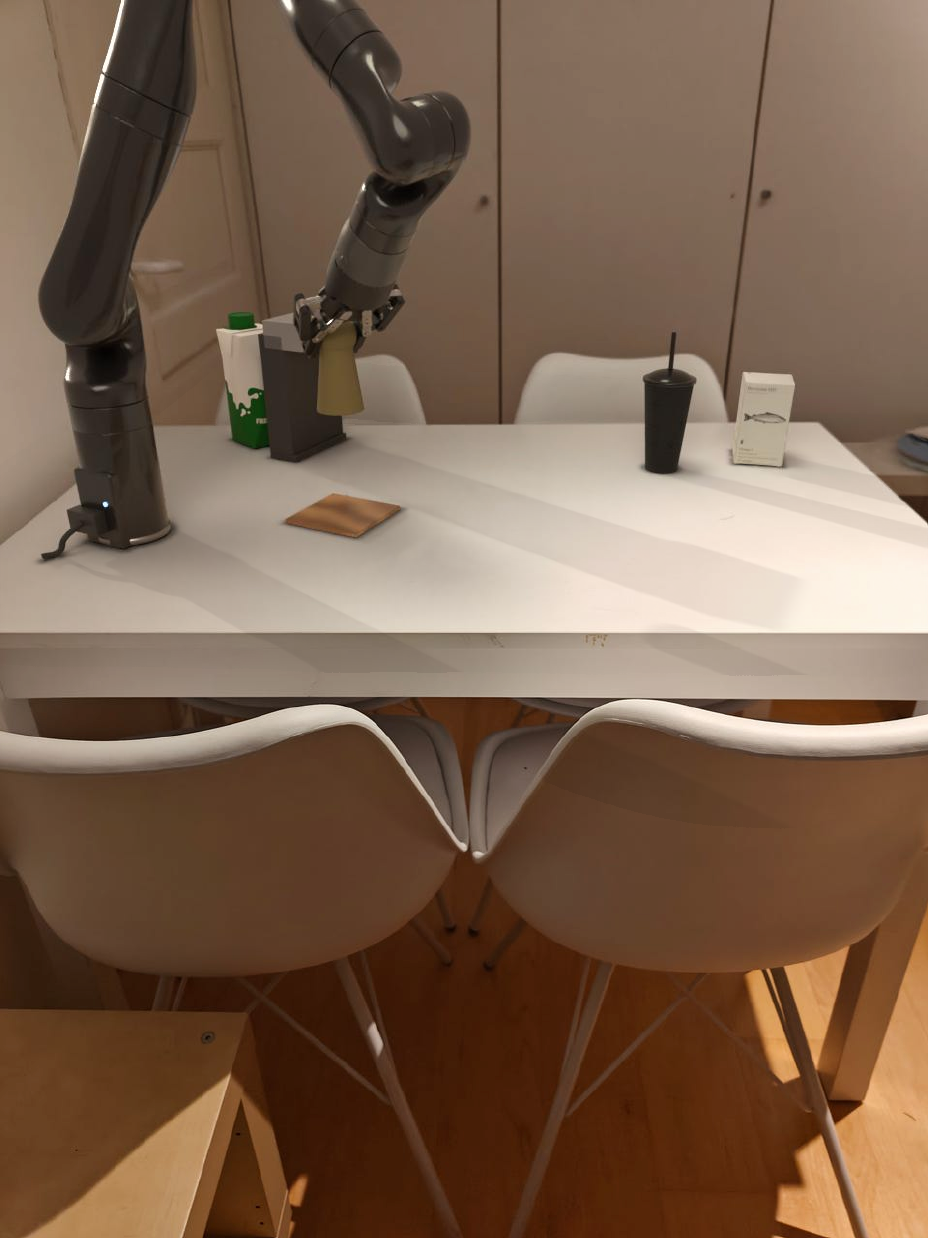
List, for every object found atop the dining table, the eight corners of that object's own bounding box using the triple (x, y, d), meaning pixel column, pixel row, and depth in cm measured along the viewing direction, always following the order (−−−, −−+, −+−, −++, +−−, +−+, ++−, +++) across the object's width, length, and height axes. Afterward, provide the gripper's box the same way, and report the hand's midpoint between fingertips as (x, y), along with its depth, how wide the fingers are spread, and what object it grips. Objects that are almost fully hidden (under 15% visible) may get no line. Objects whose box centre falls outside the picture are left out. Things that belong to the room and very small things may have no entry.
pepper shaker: (356, 416, 116) (350, 325, 111) (310, 414, 117) (302, 324, 112) (370, 404, 121) (365, 316, 116) (325, 402, 122) (319, 315, 117)
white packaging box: (732, 464, 142) (743, 381, 136) (731, 450, 148) (742, 370, 142) (782, 467, 140) (796, 384, 134) (780, 453, 147) (792, 372, 141)
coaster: (356, 537, 117) (355, 533, 117) (285, 523, 121) (285, 519, 121) (400, 509, 126) (400, 505, 125) (333, 497, 130) (332, 493, 130)
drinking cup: (628, 471, 139) (639, 334, 130) (644, 457, 145) (656, 325, 136) (678, 479, 136) (693, 339, 126) (692, 464, 142) (707, 330, 132)
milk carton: (269, 429, 160) (257, 308, 151) (298, 440, 154) (287, 315, 145) (224, 439, 155) (208, 315, 146) (252, 451, 149) (237, 322, 140)
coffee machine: (312, 464, 143) (300, 324, 133) (270, 457, 146) (256, 319, 136) (361, 440, 154) (354, 309, 144) (322, 434, 157) (311, 305, 147)
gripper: (412, 226, 107) (369, 319, 121) (296, 233, 100) (265, 331, 114) (437, 279, 105) (390, 367, 120) (322, 290, 98) (287, 383, 113)
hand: (330, 349), depth 117 cm, fingers closed on pepper shaker, 5 cm apart
